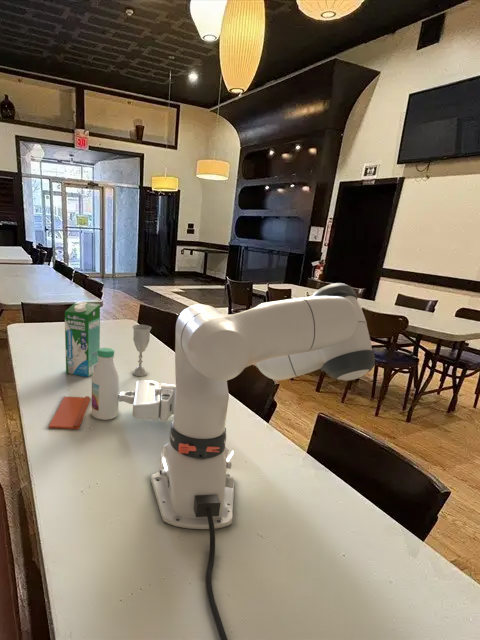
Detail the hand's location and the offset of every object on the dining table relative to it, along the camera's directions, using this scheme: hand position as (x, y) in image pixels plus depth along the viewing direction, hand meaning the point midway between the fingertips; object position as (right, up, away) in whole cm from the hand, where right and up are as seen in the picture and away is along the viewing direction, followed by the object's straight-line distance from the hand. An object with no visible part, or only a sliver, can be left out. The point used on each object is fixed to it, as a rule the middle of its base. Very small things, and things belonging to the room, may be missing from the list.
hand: (118, 396), depth 120 cm
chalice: (+3, +7, +36) cm, 37 cm away
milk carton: (-18, +8, +34) cm, 39 cm away
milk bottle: (-4, -6, +2) cm, 7 cm away
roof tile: (-14, -5, +1) cm, 15 cm away
